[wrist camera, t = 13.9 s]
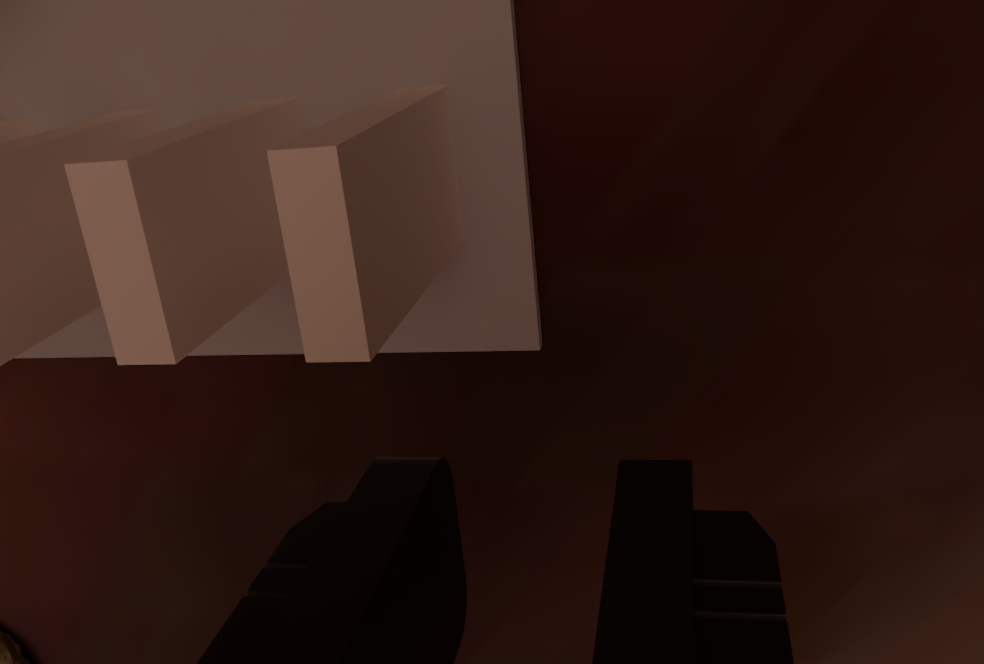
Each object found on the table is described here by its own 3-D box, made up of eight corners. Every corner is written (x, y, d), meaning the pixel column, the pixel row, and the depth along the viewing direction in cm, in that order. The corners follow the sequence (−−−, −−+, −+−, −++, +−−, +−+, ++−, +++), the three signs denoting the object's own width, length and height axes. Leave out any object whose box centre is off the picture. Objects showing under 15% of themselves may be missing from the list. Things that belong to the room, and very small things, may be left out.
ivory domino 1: (191, 251, 32) (-1, 366, 23) (150, 253, 33) (-54, 367, 24) (159, 108, 31) (-63, 172, 22) (116, 112, 31) (-119, 176, 22)
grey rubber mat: (542, 343, 32) (539, 350, 31) (-244, 356, 39) (-257, 362, 39) (508, -62, 27) (504, -62, 27) (-378, 39, 34) (-395, 40, 34)
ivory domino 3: (464, 239, 30) (370, 361, 21) (418, 242, 31) (306, 362, 22) (447, 85, 29) (336, 146, 19) (398, 89, 29) (266, 150, 20)
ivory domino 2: (323, 246, 31) (176, 363, 22) (280, 247, 32) (117, 364, 23) (298, 97, 30) (126, 160, 21) (252, 100, 30) (63, 163, 21)
